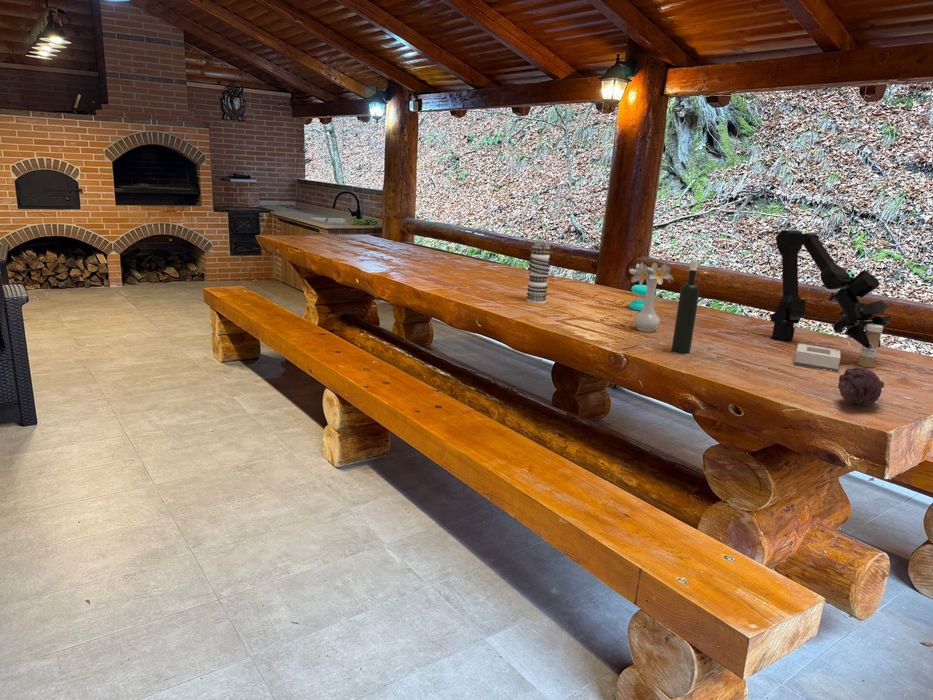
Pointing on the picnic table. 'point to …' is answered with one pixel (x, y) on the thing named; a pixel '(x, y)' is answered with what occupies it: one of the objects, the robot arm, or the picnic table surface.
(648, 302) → the flower vase
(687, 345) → the wine bottle
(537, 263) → the decorative candle
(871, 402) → the pine cone
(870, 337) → the sprinkles bottle
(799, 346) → the socket block
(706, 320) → the picnic table surface
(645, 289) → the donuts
